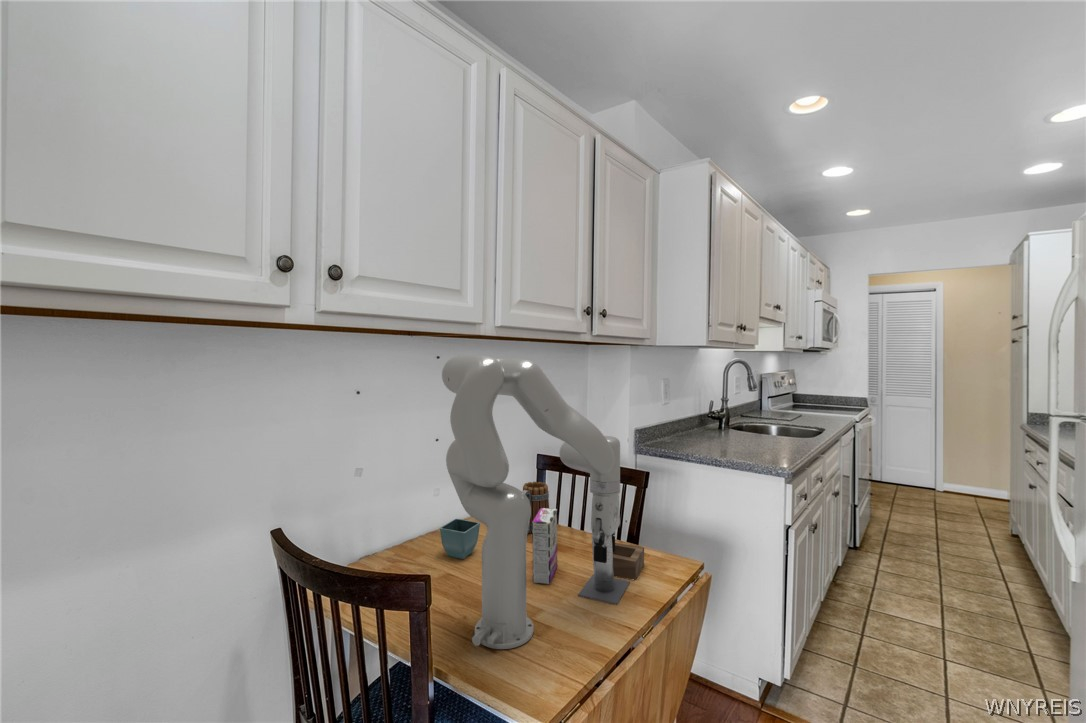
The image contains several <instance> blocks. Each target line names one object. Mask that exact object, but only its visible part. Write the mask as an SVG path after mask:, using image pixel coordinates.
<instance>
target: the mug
mask: <svg viewBox="0 0 1086 723" xmlns="http://www.w3.org/2000/svg"><path fill="white" fill-rule="evenodd" d="M521 491H522V492H523V493H524V494H525V495H526V496H527V498H528V500H529V502H530V506H531V516H530V521H529V526H528V532H527V534H531V533H532V522H533V520H534V518H535V517H536V515H537V514H538V512H539V510H540V509H541V508H550V498H549V497H550V493H549V492H550V491H549V487H548V484H546V482H542V481H538V482H537V481H529V482H528V481H527V482H526V483H524V484H523V486H522V490H521Z"/></svg>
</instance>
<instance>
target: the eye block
mask: <svg viewBox="0 0 1086 723" xmlns="http://www.w3.org/2000/svg"><path fill="white" fill-rule="evenodd" d="M643 565H644V566H645V547H644V546H637V545H632V544H627V543H619V542H615V551H614V552H613V570H614V577H616V576H617V578H621V577H623V578H622V579H626V578H628V580H631V579H634V580H633V581H636V580H637V579H638V577H639V576H640V573H641V571H642V570H641V569H643V568H644V566H643ZM642 567H643V568H642ZM637 576H638V577H637ZM636 578H637V579H636Z"/></svg>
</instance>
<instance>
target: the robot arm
mask: <svg viewBox="0 0 1086 723" xmlns="http://www.w3.org/2000/svg"><path fill="white" fill-rule="evenodd" d="M441 379H442V382H443V384H444V386H445V388H446V389H448V390H449V391H450V392H451V393H454V394H455V395H454V396H455V397H454V400H453V401H452V402H453V403H452V405H451V409H450V419H449V420H450V422H449V423H450V427H451V431H452V434H453V436H454V440H453V441H452V442H451V443H450V445H449V447H448V449H447V453H446V455H445V457H446V458H445V463H446V469H447V473H448V474H449V477H450V480H451V482H452V484H453V487H454V489H455V492H456V493H457V496H458V499H459V501H460V504H461V505H462V507H463V509H464V511H465V512H466V514H468V516H470V517H471V518H473V519H474V520H476V521H477V522H479V523H482V524H483V525H485V526H486V528H487V529H486V534H485V537H484V539H483V543H482V547H481V618H480V619H479V620H478V621H477V622H476V624H475V626H474V635H473V636H472V638H471V642H472V644H473V645H474V646H476V647H478V646H480V645H482V646H485V647H487V648H490V649H493V650H494V649H495V650H508V649H509V650H510V649H513V648H517V647H521V646H522V645H524V644H526V643H527V642H528V641H530V640H531V639H532V637H533V635H534V623H533V621H532V620H531V618H529V617H528V616H527V542H528V540H527V539H528V533H527V532H528V526H529V521H530V516H531V506H530V502H529V500H528V498H527V496H526V495H525V494H524V493H523V492H522V491H523V490H521V489H519V488H517V487H515V486H513V485H510V484H508V483H505V482H506V480H507V478H508V475H509V471H510V464H509V459H508V457H507V454H506V452H505V451H506V450H505V449H504V446H503V444H502V441H501V438H500V436H499V433H498V430H497V428H496V424H495V421H494V417H493V410H494V405H495V402H496V399H497V397H498V396H499V395H500V396H508V397H513V398H514V399H515V400H516V401H517V402H518V404H519V406H521V408H522V409H523V410H524V412H526V414H527V415H528V417H530V418H531V420H532V421H533V423H534V424H535V425H536V426H537V427H538V428H539V429H541V430H542V431H544V432H545V433H547V434H548V435H550V436H552V437H554V438H556V439H558V440H560V441H562V442H563V443H562V445H560V446H561V447H560V448H559V451H558V452H559V453H558V454H559V458H560V460H561V462H562V463H563V464H564V465H565V466H566V467H568V468H570V469H572V470H573V469H574V470H577V471H581V472H583V473H584V472H585V473H588V474H589V492H590V493H591V494H592V501H591V515H590V516H591V517H590V518H591V519H590V520H591V521H590V524H591V526H590V527H591V534H592V533H593V540H594V561H596V562H601V563H606V562H607V546H606V537H607V535H608V536H611V535H612V552H614V551H615V543H616V530H618V528H619V527H620V526H621V525H620V524H621V514H620V512H621V511H620V510H621V509H620V495H619V494H620V493H621V442H620V440H619V438H618V437H616V436H613V435H612V436H611V435H604V434H603V433H602V431H601V430H600V429H599V428H598V427H597V426H596V425H595V424H594V423H593V422H591V421H590V420H589V419H587V417H585V416H583V414H581V413H580V412H579V411H577V409H574V408H573V407H572V406H570V405H569V404H568V403H567V402H566V400H565V399H564V398H563V396H562V395H561V394H560V393H559V391H558V390H557V389H556V387H555V386H554V385H553V383H552V382H551V380H550V379H549V377H548V376H547V374H546V373H545V372H544V371H543V370H542V368H541V367H540V366H539V365H538V364H537V362H535V361H533V360H531V359H526V358H525V359H524V358H495V357H493V356H488V355H483V354H482V355H479V354H478V355H475V354H474V355H470V354H469V355H466V354H465V355H464V354H463V355H462V354H461V355H456V356H453V357H451V358H450V359H448V360H447V361H446V362H445V363H444V365H443V368H442V371H441ZM600 531H604V534H603V533H600ZM600 536H603V541H602V539H601V538H600Z"/></svg>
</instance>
